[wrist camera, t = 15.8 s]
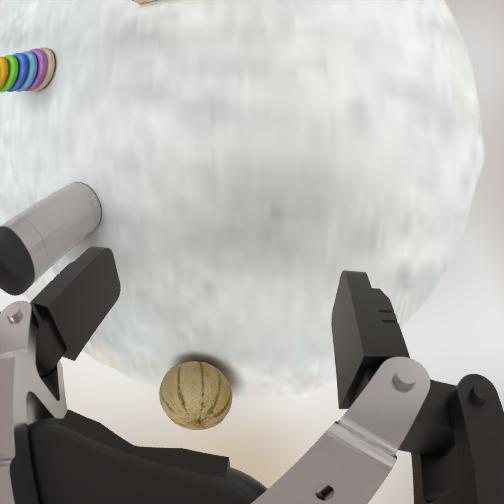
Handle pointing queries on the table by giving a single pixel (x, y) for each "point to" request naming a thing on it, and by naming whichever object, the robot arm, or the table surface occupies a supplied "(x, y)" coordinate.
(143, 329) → the table surface
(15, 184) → the table surface
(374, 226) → the table surface
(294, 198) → the table surface
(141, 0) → the brick pedestal
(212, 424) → the cantaloupe
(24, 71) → the stacking toy
